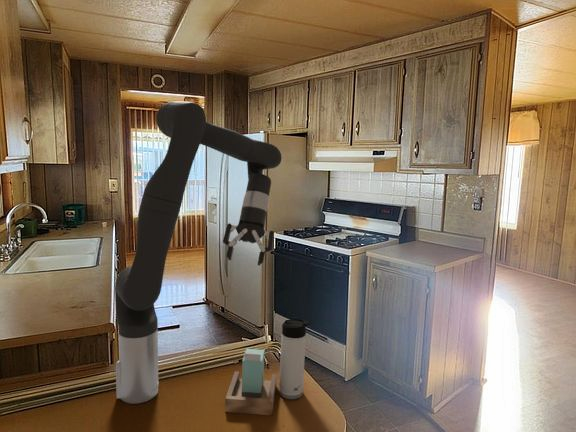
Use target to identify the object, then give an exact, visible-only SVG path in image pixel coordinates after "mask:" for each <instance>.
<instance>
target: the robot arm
mask: <svg viewBox="0 0 576 432" xmlns="http://www.w3.org/2000/svg"><path fill="white" fill-rule="evenodd" d="M155 118H156V119H155V121H156V125H157V128H158V129H159V131H160V132H161V133H162V134H163V135H164V136H166V137H168V138H170V140H169V143H168V148H167V151H166V154H165V156H164V158H163V160H162V162H161V163H160V165H159V166H158V167H157V169H156V170H155V171H154V172H153V174H152V175H151V177H150V178H149V180H148V181H147V183H146V186H145V188H144V190H143V194H142V197H141V200H140V204H139V210H138V214H137V225H136V226H137V227H136V232H137V233H136V237H137V238H136V249H135V254H134V258H133V261H132V264H131V265H128V266H127V267H125V268H123V269H122V270H121V271H120V272H119V274H118V275H117V277H116V279H115V284H114V287H115V288H114V294H115V297H114V298H115V317H116V322H117V329H118V330H117V331H118V360H117V361H116V362H115V383H116V384H115V385H116V386H115V387H116V389H115V390H116V399H119V400H121V401H123V402H124V403H126V404H132V405H134V404H142V403H145V402H148V401H150V400H153V398H154V397H156V396H157V395H158V394H159V393H158V392H159V337H158V336H159V333H158V332H159V331H158V330H159V326H158V325H159V323H158V317H157V313H156V309H155V303H156V302H157V300H158V299H159V297H160V295H161V291H162V286H163V279H164V273H165V267H166V266H165V265H166V260H167V258H168V257H167V256H168V252H169V249H170V246H171V242H172V240H173V239H172V238H173V236H174V231H175V228H176V224H177V222H178V218H179V216H180V215H179V214H180V210H181V209H182V208H181V207H182V203H183V199H184V194H185V191H186V187H187V184H188V181H189V177H190V173H191V170H192V166H193V162H194V161H195V159H196V155H197V153H198V150H199V148H200V145H202V146H204V147H205V146H206V147H208V148H209V149H212V150H215V151H217V152H219V153H222V154H224V155H226V156H229V157H231V158H233V159H236V160H238V161H241V162H245V163H247V164H246V165H247V168H246V169H247V186H246V190H245V193H244V196H243V200H242V205H241V209H240V210H241V211H240V216H239V220H238V223H237V225H234V224H231V223H230V222H229V223H227V224H226V228H225V232H224V235H223V240H222V243H223V244H224V245H226V246H227V251H226V259H228V261H232V258H233V252H234V247H235V246H236V245H237V244H239V243H240V242H241V241H242V242H243V243H250V244H257V246H258V248H259V250H260V251H259V254H258V255H259V256H258V260H257V266H259V267H260V266H261V265H263V264H264V259H265V255H266V253H271V252H272V251H273V242H274V235H275V233H274V231H273V230H269V231H267V230H265V226H266V225H265V224H266V219H267V215H268V214H267V212H268V210H269V201H270V200H269V199H270V197H269V196H270V192H271V188H272V180H271V177H270V176H268V175H266V174H264V173H263V172H264V170H270V169H271V170H272V169H275V168H277V167H279V165H280V164H281V162H282V153H281V151H280V149H279V148H278V147H277V146H276V145H274V144H271V143H269V142H265V141H261V140H255V139H253V138H250V137H248V136H246V135H245V134H242V133H241V132H238V131H235V130H232V129H230V128H226V127H222V126H220V125H217V124H214V123H210V122H208V121H207V115H206V113H205V110H204V109H203V107H202V106H201V105H200V104H199V103H197V102H193V101H182V100H181V101H179V100H173V101H168V102H165V103H164V104H162V105H161V106H160V107H159V108H158V109H157V112H156V116H155ZM235 230H236V233H237V235H235V237H234V238H233V239H231V241H229V240H230V237H231V234H232V233H234V231H235ZM264 235H265V236H266V239H267V240H268V241H267V247H265V246H264V244H263V242H262V240H261V239H262V237H263V236H264Z"/></svg>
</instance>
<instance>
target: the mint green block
mask: <svg viewBox="0 0 576 432" xmlns="http://www.w3.org/2000/svg"><path fill="white" fill-rule="evenodd" d="M245 349H246V350H245V352H244V354H243V357H242V361H241V362H242V363H241V364H242V367H241V369H242V370H241V379H242V397H252V398H261V394H262V389H263V380H264V375H265V372H264V371H265V349H254V348H245Z"/></svg>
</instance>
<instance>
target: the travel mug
mask: <svg viewBox="0 0 576 432" xmlns="http://www.w3.org/2000/svg"><path fill="white" fill-rule="evenodd" d="M308 325H309V322H308V321H307V320H305V319H301V318H291V319H287V320H286V319H285V321H284V322H283V323H282V325H281V339H280V341H281V342H280V361H279V363H280V364H279V382H278V383H279V385H278V386H279V387H278V388H279V389H278V393H279V395H280V396H281V397H283V398H285V399H286V400H296V399H298V398H300V397H302V395H304V394H303V392H304V375H305V360H306V359H305V356H306V354H305V353H306V339H307V337H306V333H307V327H308Z"/></svg>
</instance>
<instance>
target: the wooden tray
mask: <svg viewBox="0 0 576 432" xmlns="http://www.w3.org/2000/svg"><path fill="white" fill-rule="evenodd" d="M277 376H278V375H277V374H275V373H272V374H271V379H270V380H266V379H265V380H264V379H263V389H262V394H261V398H252V397H242V378H240V371H238V370H236V371H234V372H233V375H232V379H231V382H230V385H229V387H228V391H227V393H226V394H225V395H226V396H225V399H224V400H225V401H224V402H225V403H224V406H225V407H224V413H237V414H251V415H264V416H273V409H274V404H275V396H276V391H277V390H276V389H277Z"/></svg>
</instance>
